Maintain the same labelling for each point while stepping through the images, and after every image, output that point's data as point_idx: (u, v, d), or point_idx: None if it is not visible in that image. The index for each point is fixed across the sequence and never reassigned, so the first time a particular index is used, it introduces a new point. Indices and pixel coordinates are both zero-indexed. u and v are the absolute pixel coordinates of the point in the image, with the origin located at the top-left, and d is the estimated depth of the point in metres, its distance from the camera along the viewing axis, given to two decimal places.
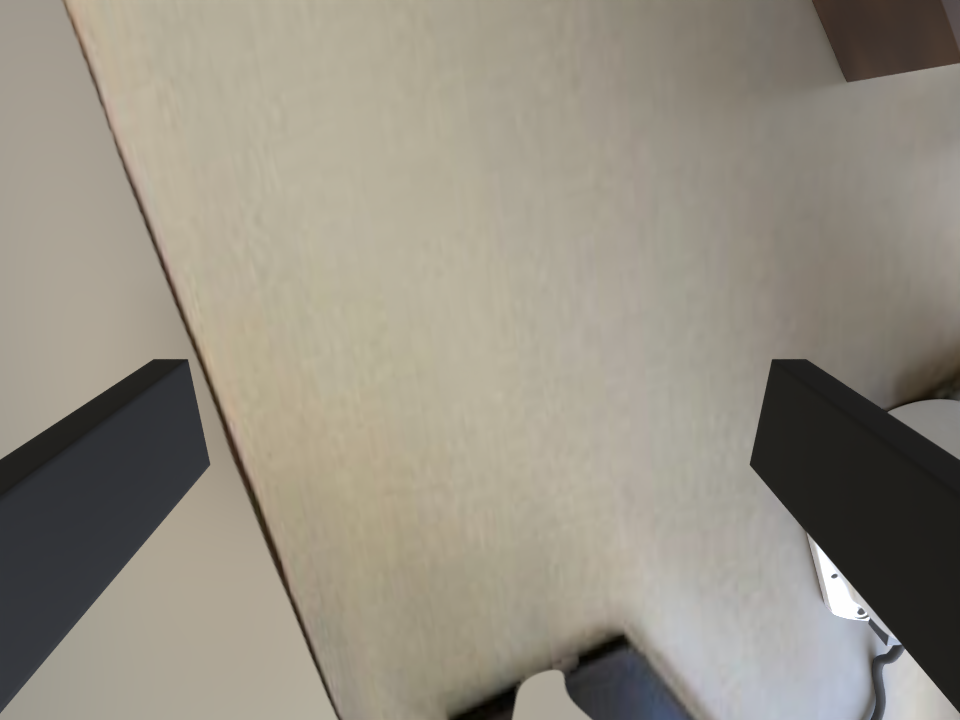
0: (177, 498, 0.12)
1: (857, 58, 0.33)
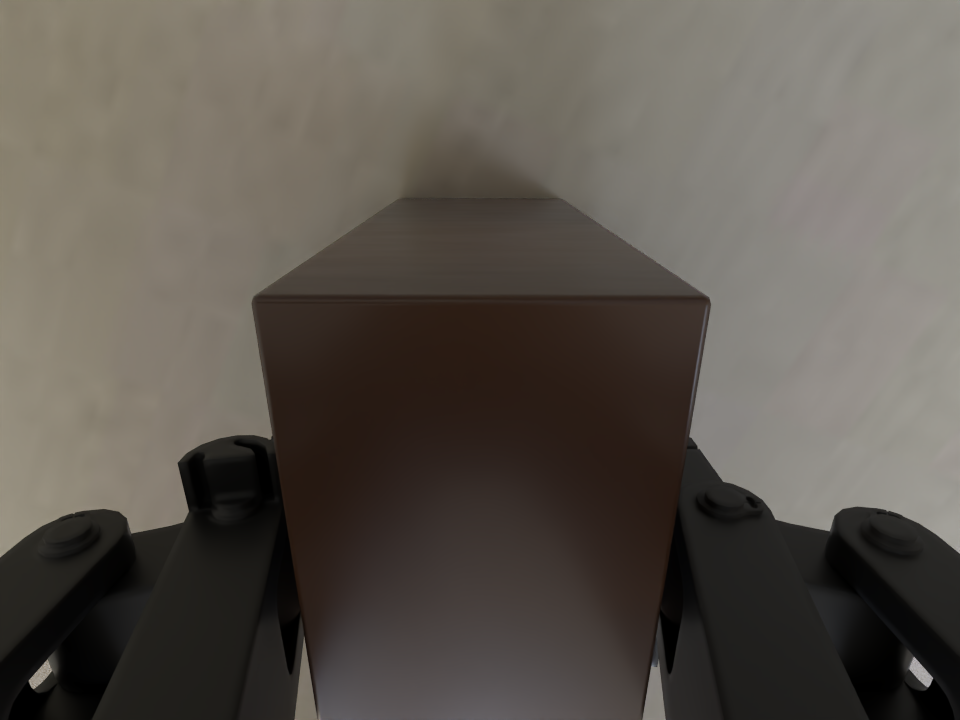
0: None
1: None
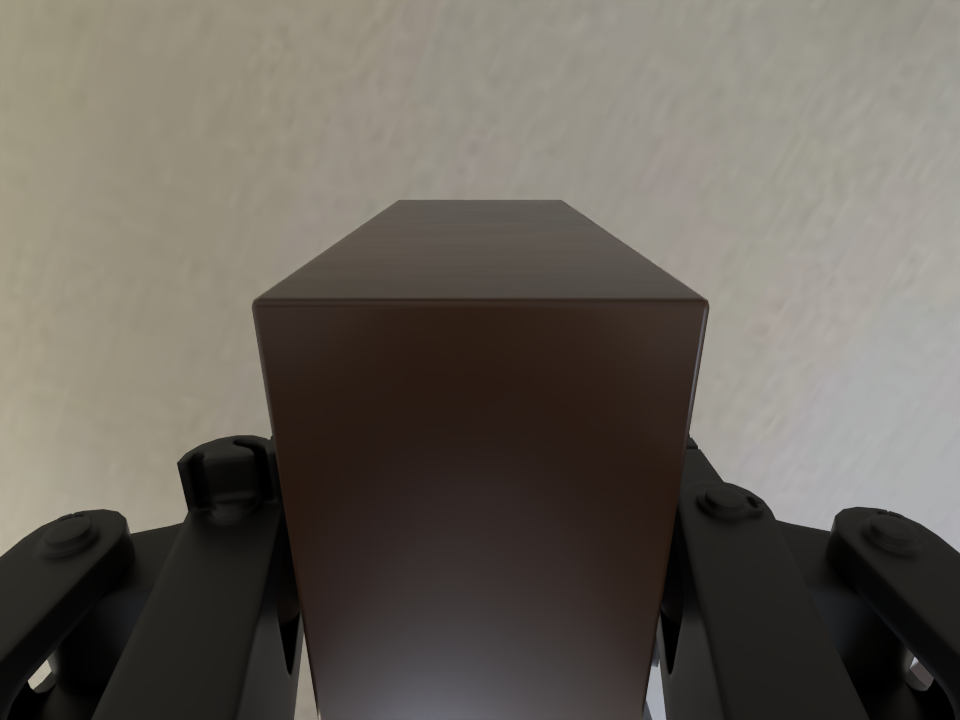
0: None
1: None
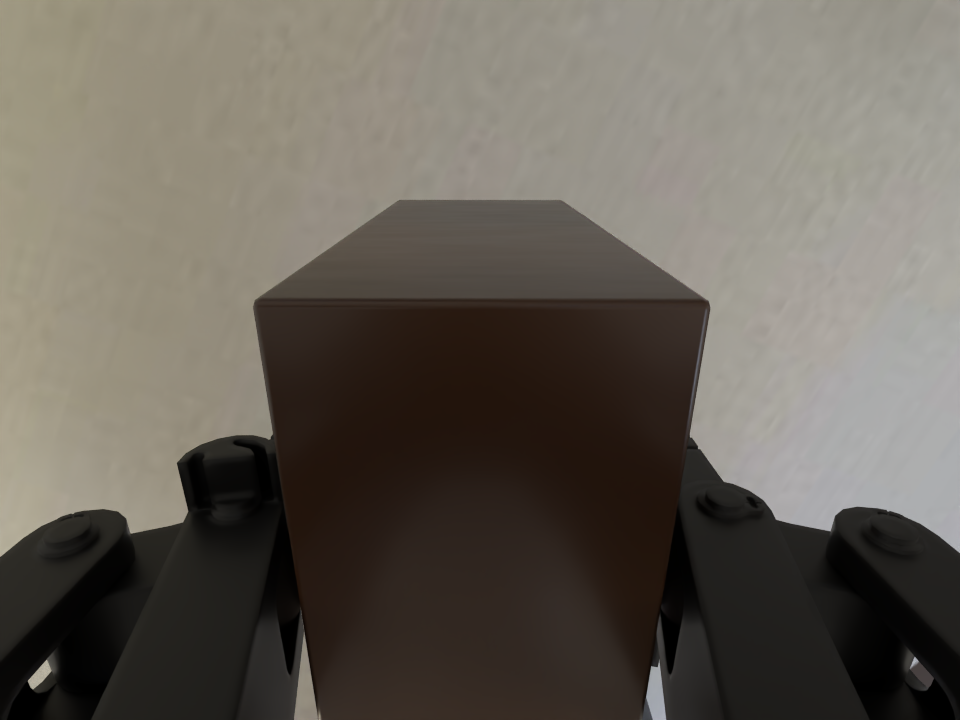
0: None
1: None
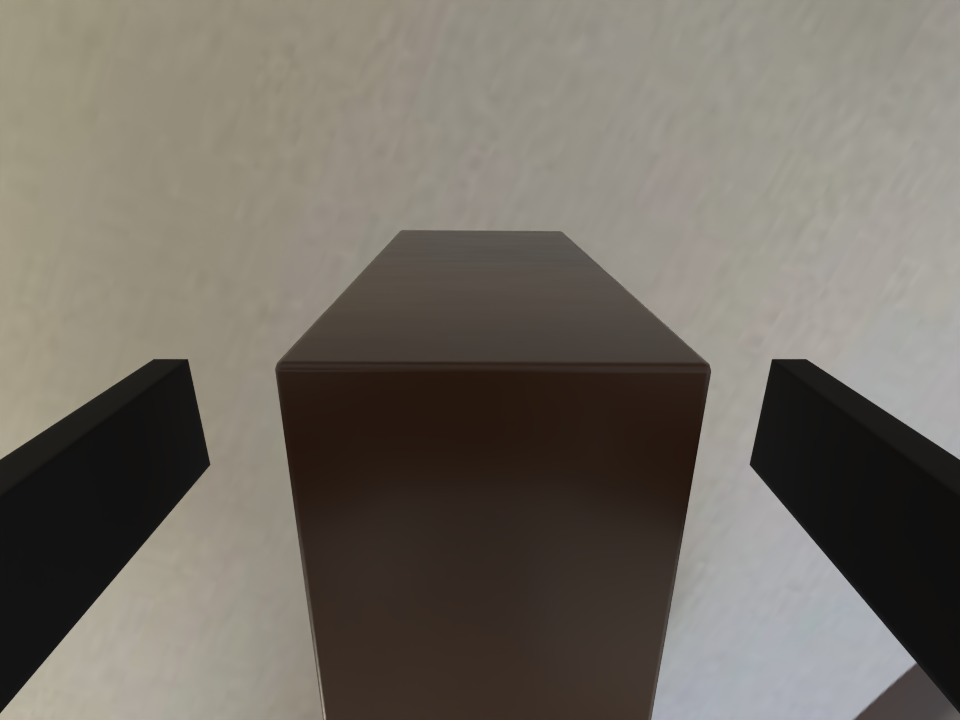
0: (177, 498, 0.12)
1: None
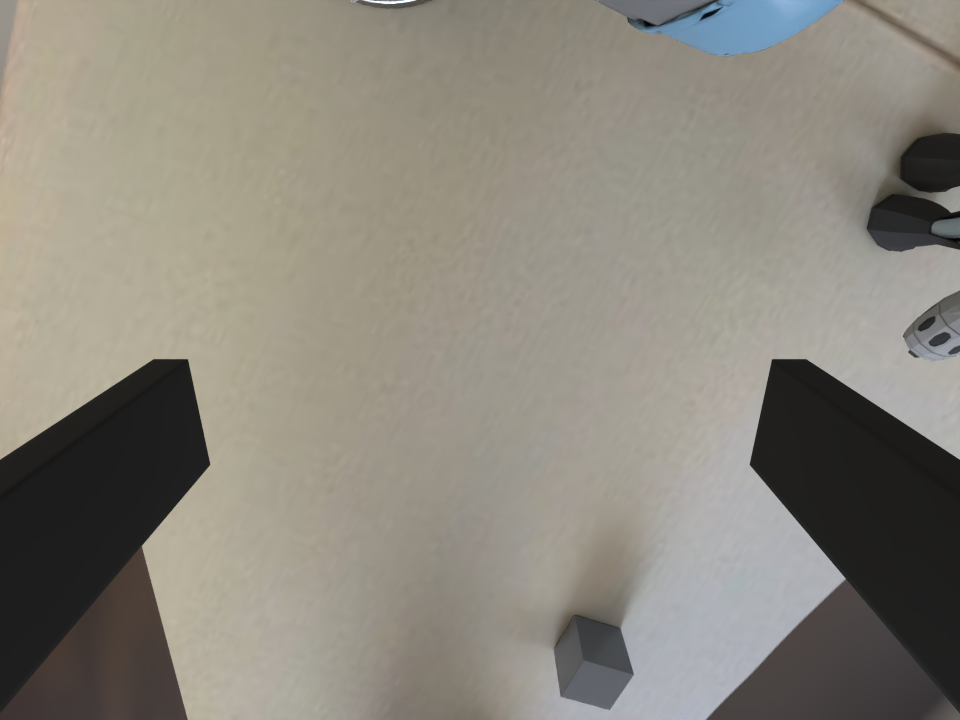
0: (177, 498, 0.12)
1: None
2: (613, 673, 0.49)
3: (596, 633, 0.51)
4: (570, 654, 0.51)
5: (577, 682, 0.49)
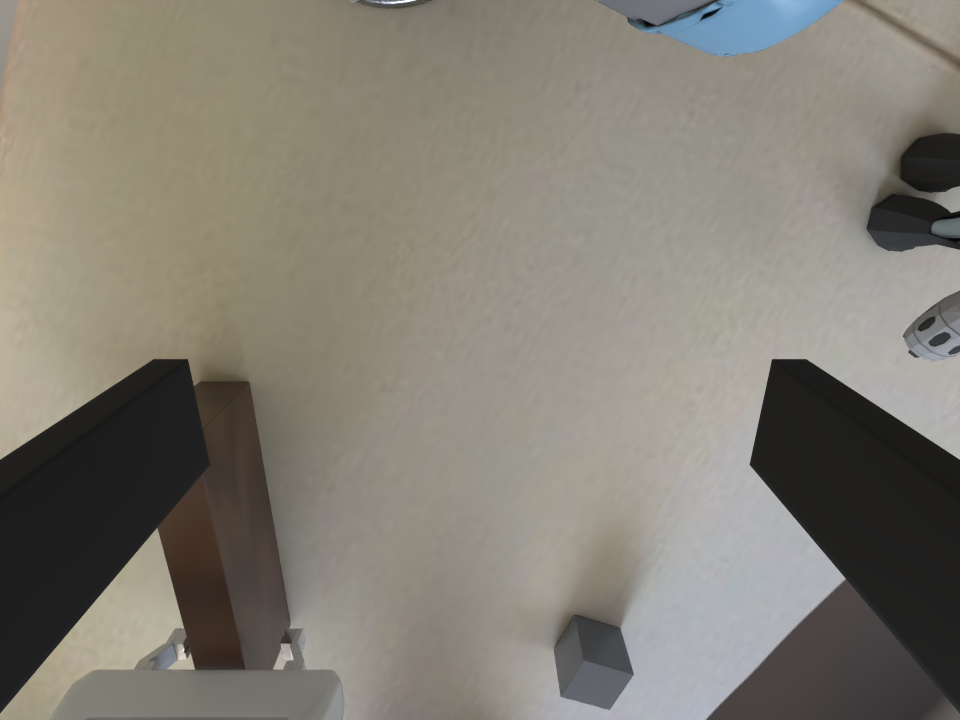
0: (177, 498, 0.12)
1: None
2: (613, 673, 0.49)
3: (596, 633, 0.51)
4: (570, 654, 0.51)
5: (577, 682, 0.49)
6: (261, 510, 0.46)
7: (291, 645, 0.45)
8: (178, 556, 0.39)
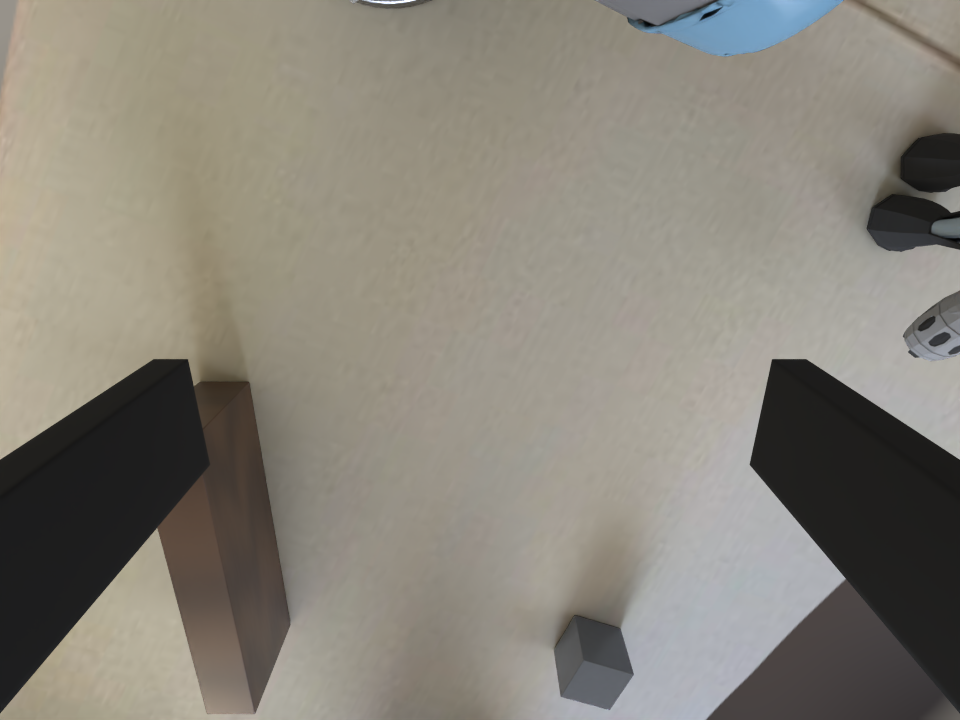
0: (177, 498, 0.12)
1: None
2: (613, 673, 0.49)
3: (596, 633, 0.51)
4: (570, 654, 0.51)
5: (577, 682, 0.49)
6: (261, 510, 0.46)
7: None
8: (178, 556, 0.39)
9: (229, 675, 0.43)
